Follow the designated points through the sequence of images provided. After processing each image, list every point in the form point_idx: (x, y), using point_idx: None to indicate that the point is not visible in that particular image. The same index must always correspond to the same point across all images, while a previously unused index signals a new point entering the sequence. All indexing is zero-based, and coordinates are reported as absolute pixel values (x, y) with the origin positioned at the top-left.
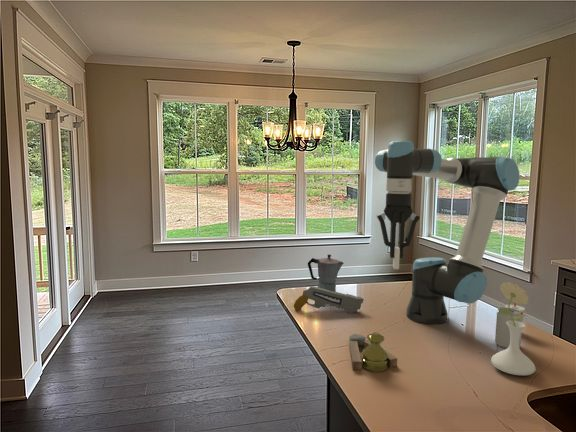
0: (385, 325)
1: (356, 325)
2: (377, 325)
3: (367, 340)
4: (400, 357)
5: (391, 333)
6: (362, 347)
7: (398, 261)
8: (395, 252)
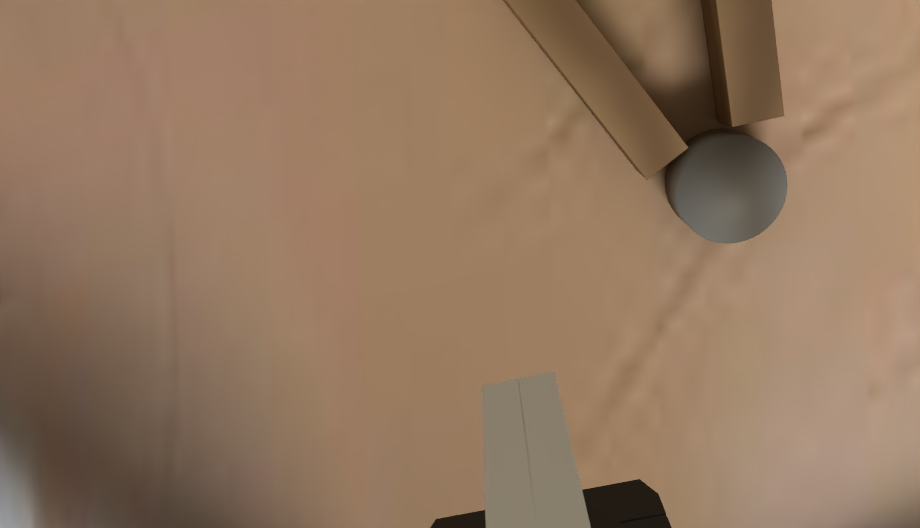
0: None
1: (735, 471)
2: None
3: (663, 160)
4: (443, 79)
5: None
6: None
7: (498, 443)
8: (575, 526)
